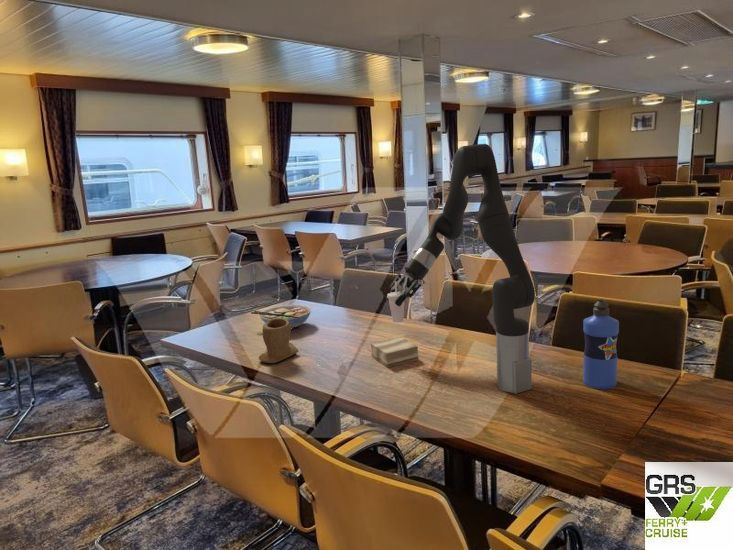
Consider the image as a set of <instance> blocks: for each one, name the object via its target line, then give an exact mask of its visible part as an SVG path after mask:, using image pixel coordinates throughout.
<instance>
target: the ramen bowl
mask: <svg viewBox="0 0 733 550" xmlns="http://www.w3.org/2000/svg"><path fill="white" fill-rule="evenodd" d="M311 312H312V307H311V306H310V305H306V304H296V303H295V304H282V305H277V306H272V307H269V308H265V309H264V310H262V311H259V310H253V311H251V312H250V314H252V315H253V314H254V315H258V316H259V318H260V319H261V320H262V322H264V324H265V323H266V322H268V321H269V320H271V319H274V318H284V319H286V320H288V321H289V323H290V327H291V328H293V329H295V328H296V327H299V326H301V325H302V324H304V323H305V322H306V321H307V320H308V318H309V317H310V315H311ZM294 327H295V328H294Z"/></svg>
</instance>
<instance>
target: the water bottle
mask: <svg viewBox="0 0 733 550" xmlns="http://www.w3.org/2000/svg"><path fill="white" fill-rule="evenodd" d="M609 305H610V304H608V302H606V300H602V299H599V300H597V301H596V302H595V303H593V306H594V307H593V308H592V309H593V310H592V312H593V313H592V314H593V315H591V316H588V317H586V318H584V319H583V321H582V322H583V323H582V324H583V326H582V327H583V334H584V352H583V361H582V362H583V371H582V372H583V373H582V376H583V377H582V378H583V379H582V382H583V384H584V385H585V386H586V387H589V388H592V389H595V390H610V389H611V390H612V389H614V388H616V387H617V385H618V383H617V381H618V380H617V379H618V354H617V352H618V351H617V341H618V337H619V336H618V335H619V332H620V328H619V327H620V321H619V320H618V319H616V318H614V317H612V316H610V308H609Z"/></svg>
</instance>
